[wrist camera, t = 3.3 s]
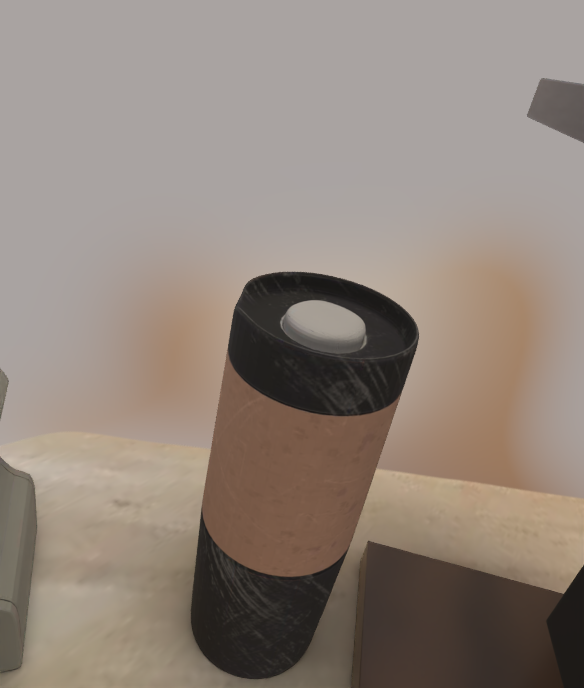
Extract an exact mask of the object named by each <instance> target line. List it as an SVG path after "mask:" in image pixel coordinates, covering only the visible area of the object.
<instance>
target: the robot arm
mask: <svg viewBox="0 0 584 688" xmlns="http://www.w3.org/2000/svg"><path fill="white" fill-rule="evenodd" d="M546 623H547V626H548V630H549V634H550V638H551V642H552V645H553V649H554V653H555V657H556V660H557V664H558V668H559V672H560V675H561V679H562V683H563V687H564V688H584V565H583V567H582V568H581V570H580V571H579V573H578V574H577V576H576V577H575V579H574V580H573V582H572V583H571V585H570V586H569V588H568V589H567V590H566V592H565V593H564V595H563V596H562V598H561V599H560V601H559V602H558V604H557V605H556V607H555V608H554V610H553V611H552V613H551V614H550V616H549V617H548V618H547V620H546Z"/></svg>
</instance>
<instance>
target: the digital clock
mask: <svg viewBox="0 0 584 688" xmlns="http://www.w3.org/2000/svg"><path fill="white" fill-rule="evenodd" d="M8 382H9V381H8V378H7V376H6V375H5V374H4V372H3V371H2V370H1V369H0V418H1V414H2V409H3V405H4V400H5V396H6V392H7V387H8ZM36 530H37V518H36V500H35V487H34V482H33V479H32V478H31V476H30V475H29V474H27V473H25V472H22V471H19V470H16V469H14V468H12V467H11V466H9V465H8V464H7V463H6V462H5V461H4V460H3V459H2V458H1V457H0V672H3V671H9V670H13V669H16V668H19V667H20V666H21V664H22V656H23V647H24V638H25V629H26V620H27V611H28V602H29V593H30V584H31V575H32V566H33V557H34V548H35V539H36Z"/></svg>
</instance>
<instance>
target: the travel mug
mask: <svg viewBox="0 0 584 688" xmlns="http://www.w3.org/2000/svg"><path fill="white" fill-rule="evenodd" d="M418 339H419V332H418V328H417V325H416V323H415V321H414V319H413V318H412V317H411V316H410V314H409V313H408V312H407V311H406V310H405V309H403V308H402V307H401V306H400V305H398V304H397V303H396V302H394V301H393V300H391V299H390V298H388V297H386V296H384V295H382V294H381V293H379V292H377V291H375V290H373V289H370V288H368V287H366V286H363V285H360V284H357V283H354V282H352V281H348V280H345V279H341V278H337V277H333V276H328V275H323V274H316V273H307V272H278V273H271V274H265V275H262V276H258V277H256V278H253V279H252V280H250V281H249V282H248V283H247V284H246V285H245V287H244V289H243V292H242V294H241V297H240V298H239V300H238V302H237V304H236V306H235V309H234V314H233V319H232V325H231V331H230V338H229V344H228V350H227V356H226V362H225V368H224V375H223V380H222V387H221V392H220V399H219V404H218V410H217V416H216V422H215V429H214V435H213V441H212V447H211V453H210V459H209V465H208V471H207V477H206V483H205V489H204V495H203V502H202V510H201V519H200V528H199V538H198V547H197V556H196V566H195V575H194V584H193V594H192V606H191V624H192V629H193V633H194V636H195V639H196V641H197V643H198V645H199V647H200V649H201V650H202V651H203V653H204V654H205V656H206V657H207V658H208V659H209V660H210V661H211V662H212V663H214V664H215V665H216V666H217V667H219V668H221V669H222V670H224V671H226V672H228V673H230V674H233V675H236V676H239V677H243V678H250V679H260V678H268V677H271V676H275V675H278V674H280V673H282V672H284V671H286V670H287V669H289V668H290V667H292V666H293V665H294V664H295V663H296V662H297V661H298V660H299V659H300V658H301V657H302V656H303V654H304V653H305V651H306V650H307V648H308V646H309V644H310V642H311V639H312V637H313V635H314V632H315V630H316V628H317V625H318V623H319V620H320V618H321V616H322V613H323V611H324V608H325V606H326V603H327V601H328V598H329V596H330V593H331V591H332V588H333V586H334V583H335V581H336V578H337V576H338V573H339V571H340V568H341V566H342V563H343V561H344V559H345V556H346V554H347V551H348V549H349V546H350V543H351V541H352V538H353V535H354V532H355V529H356V526H357V523H358V520H359V517H360V514H361V511H362V509H363V506H364V503H365V500H366V497H367V494H368V491H369V488H370V485H371V482H372V479H373V476H374V473H375V470H376V467H377V464H378V461H379V458H380V455H381V452H382V449H383V446H384V443H385V440H386V437H387V435H388V432H389V429H390V426H391V423H392V419H393V416H394V414H395V410H396V408H397V405H398V402H399V399H400V396H401V393H402V390H403V387H404V384H405V381H406V378H407V375H408V372H409V369H410V366H411V364H412V360H413V357H414V355H415V351H416V348H417V344H418Z"/></svg>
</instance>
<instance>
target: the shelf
mask: <svg viewBox="0 0 584 688" xmlns="http://www.w3.org/2000/svg"><path fill="white" fill-rule="evenodd" d="M527 117H529V118H531V119H533V120H535V121H537V122H540V123H542V124H544V125H546V126H548V127H550V128H553V129H555V130H557V131H559V132H561V133H563V134H566V135H568V136H570V137H572V138H574V139H577V140H579V141H581V142H583V143H584V84H579V83H573V82H565V81H559V80H551V79H545V78H542V79H541V80H540V82H539V85H538V87H537V90H536V93H535V95H534V98H533V101H532V103H531V106H530V109H529V111H528V114H527ZM563 595H564V594H562V593H558V592H554V591H551V590H547V589H543V588H540V587H536V586H532V585H529V584H525V583H521V582H518V581H514V580H510V579H507V578H503V577H499V576H495V575H492V574H488V573H484V572H481V571H477V570H473V569H470V568H466V567H462V566H459V565H455V564H451V563H448V562H444V561H440V560H437V559H433V558H429V557H426V556H422V555H418V554H415V553H411V552H407V551H404V550H400V549H396V548H393V547H389V546H385V545H381V544H378V543H374V542H370V541H368V542H367V545H366V548H365V550H364V553H363V556H362V558H361V561H360V574H359V588H358V601H357V615H356V629H355V643H354V656H353V670H352V684H351V688H564V687H563V683H562V679H561V675H560V672H559V668H558V664H557V660H556V657H555V653H554V649H553V645H552V642H551V638H550V634H549V630H548V626H547V623H546V620H547V618H548V617H549V616H550V614H551V613H552V611H553V610H554V608H555V607H556V605H557V604H558V602H559V601H560V599H561V598H562V596H563Z"/></svg>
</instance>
